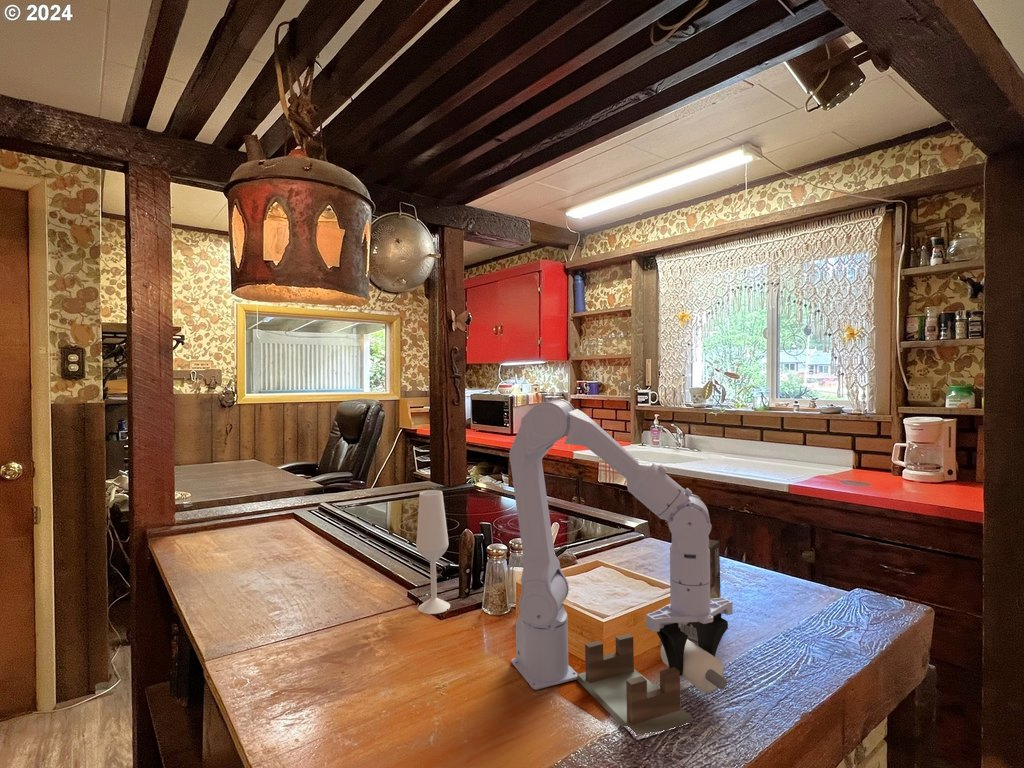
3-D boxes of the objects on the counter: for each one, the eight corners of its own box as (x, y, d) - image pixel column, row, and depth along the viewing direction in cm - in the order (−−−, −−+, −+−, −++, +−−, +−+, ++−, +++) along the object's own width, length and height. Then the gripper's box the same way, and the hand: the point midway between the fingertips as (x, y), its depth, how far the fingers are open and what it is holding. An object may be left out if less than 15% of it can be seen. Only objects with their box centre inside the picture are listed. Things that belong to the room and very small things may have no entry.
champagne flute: (413, 604, 119) (410, 491, 118) (443, 598, 122) (440, 488, 122) (423, 616, 113) (420, 497, 113) (455, 609, 116) (452, 493, 116)
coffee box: (689, 616, 110) (687, 534, 110) (722, 624, 106) (721, 540, 106) (669, 633, 103) (668, 546, 103) (704, 643, 99) (703, 552, 99)
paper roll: (651, 661, 90) (650, 630, 89) (676, 654, 92) (676, 624, 91) (708, 705, 78) (707, 670, 77) (736, 696, 79) (735, 661, 79)
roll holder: (577, 680, 88) (576, 639, 88) (625, 667, 92) (625, 628, 92) (636, 741, 74) (635, 692, 74) (692, 723, 77) (691, 676, 77)
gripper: (667, 596, 78) (668, 693, 78) (747, 580, 83) (748, 670, 84) (637, 579, 84) (638, 669, 85) (713, 565, 90) (714, 649, 90)
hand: (691, 668), depth 84 cm, fingers closed on paper roll, 5 cm apart
